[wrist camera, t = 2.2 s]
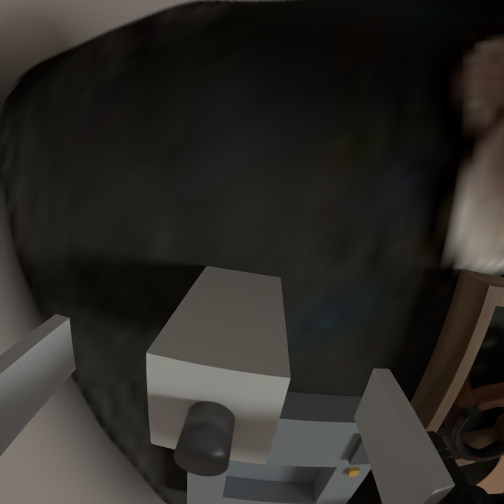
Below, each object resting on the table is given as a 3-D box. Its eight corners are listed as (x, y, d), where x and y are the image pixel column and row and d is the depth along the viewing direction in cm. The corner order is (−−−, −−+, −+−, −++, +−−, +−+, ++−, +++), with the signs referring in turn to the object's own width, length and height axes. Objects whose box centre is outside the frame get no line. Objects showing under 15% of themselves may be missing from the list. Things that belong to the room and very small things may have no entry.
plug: (280, 277, 18) (294, 423, 7) (268, 342, 19) (263, 504, 8) (206, 266, 19) (120, 390, 7) (200, 330, 20) (135, 480, 8)
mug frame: (561, 289, 17) (584, 301, 14) (494, 433, 21) (507, 452, 18) (460, 269, 18) (489, 285, 14) (384, 450, 22) (393, 477, 18)
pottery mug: (487, 421, 22) (484, 479, 15) (428, 383, 25) (415, 441, 18) (564, 337, 16) (587, 389, 9) (504, 287, 19) (523, 333, 13)
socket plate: (386, 396, 20) (401, 427, 17) (326, 503, 24) (330, 529, 20) (199, 377, 20) (187, 410, 17) (192, 491, 24) (186, 517, 21)
